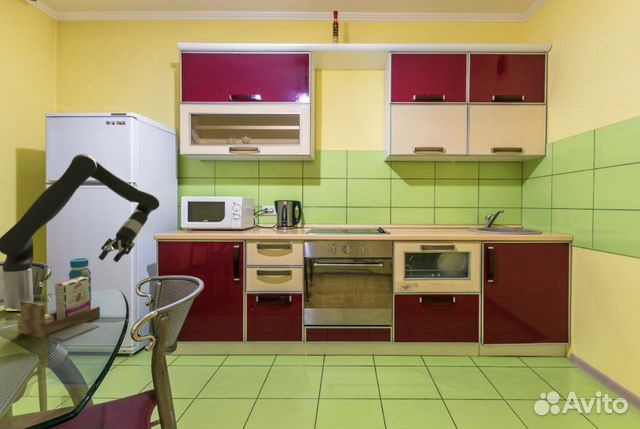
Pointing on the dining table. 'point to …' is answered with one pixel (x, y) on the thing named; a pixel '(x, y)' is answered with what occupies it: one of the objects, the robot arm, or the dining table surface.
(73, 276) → the beverage bottle
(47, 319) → the offcut stack
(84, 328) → the slate mat
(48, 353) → the dining table surface
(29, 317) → the slot rack
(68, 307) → the candy bar box
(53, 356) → the dining table surface
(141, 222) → the robot arm
